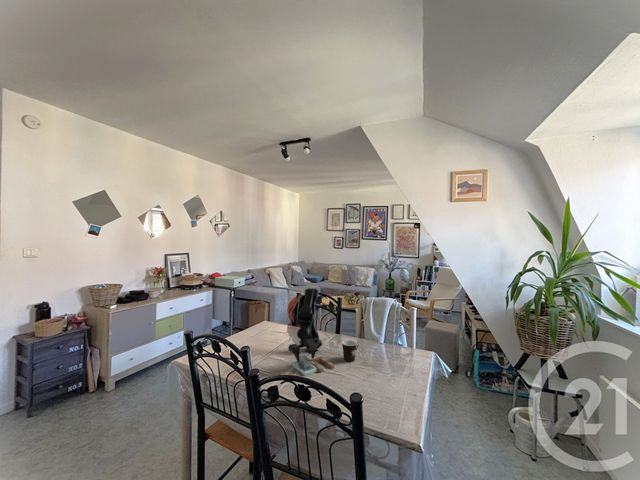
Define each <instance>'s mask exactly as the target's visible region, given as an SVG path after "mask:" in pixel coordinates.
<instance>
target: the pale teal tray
mask: <svg viewBox="0 0 640 480" xmlns="http://www.w3.org/2000/svg"><path fill="white" fill-rule="evenodd" d="M291 367H292V368H294V369H295V370H296V371H298V372H299V373H300V374H301V375H303V377H305V376H308V375H311V374H315V373H317V372H318V371H317V368H316V367H314V366H313V365H311V370H309V371H305V372H304V371H303V370H302V369H301V368H300V367H299V366H298V362H297V360H294V361H292V362H291Z"/></svg>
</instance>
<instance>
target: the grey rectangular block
mask: <svg viewBox="0 0 640 480" xmlns="http://www.w3.org/2000/svg"><path fill="white" fill-rule="evenodd" d="M310 360H311V359H309V358H308V357H307V356H306V355H304V354H303V355H299V363H298V366H299V367H300V368H301V369H302V370H303V371H304V372H305V371H309V370H311V361H310Z"/></svg>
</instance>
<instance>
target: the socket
mask: <svg viewBox="0 0 640 480" xmlns="http://www.w3.org/2000/svg"><path fill="white" fill-rule="evenodd" d="M309 360H310V361H311V365H313V366H314V367H316V368H317V372H319V373H324V367H323V366H321V365H320V364H319V363H322V364H323V365H324V366H326V367H328V368H329V369H331V370H333V369H335V364H334V363H332V362H331V361H329V360H328V359H326V358H325V357H323V356H319V357H314V358H313V359H312V358H311V359H309Z"/></svg>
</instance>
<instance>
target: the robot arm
mask: <svg viewBox="0 0 640 480" xmlns="http://www.w3.org/2000/svg"><path fill="white" fill-rule="evenodd" d="M304 296H305V297H304V300H303V301H304V302H303V306H302V307H301V308H300V310H299V312H298V316H297V325H299V328H298V330H297V332H296V336H297V338H298V339H299V341H298V343H299V344H297V343H292V344H289V345H288V351H290V352H291V353H292V354H294V357H295V361H297V362H298V363H299V356H300V353H301V352H300V351H301V349H304V350H305V352H308V354H310V355H311V359H315V355H316V352H319V348H321V347H322V346H323V342H322V340H321V339H320V335H319V332H318V329H317V326H316V324H315V323H316V322H315V321H316V320H315V319H316V318H315V317H316V301H317V300H318V296H319V290H318V289H317V288H311V287H308V288H307V289H304Z"/></svg>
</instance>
